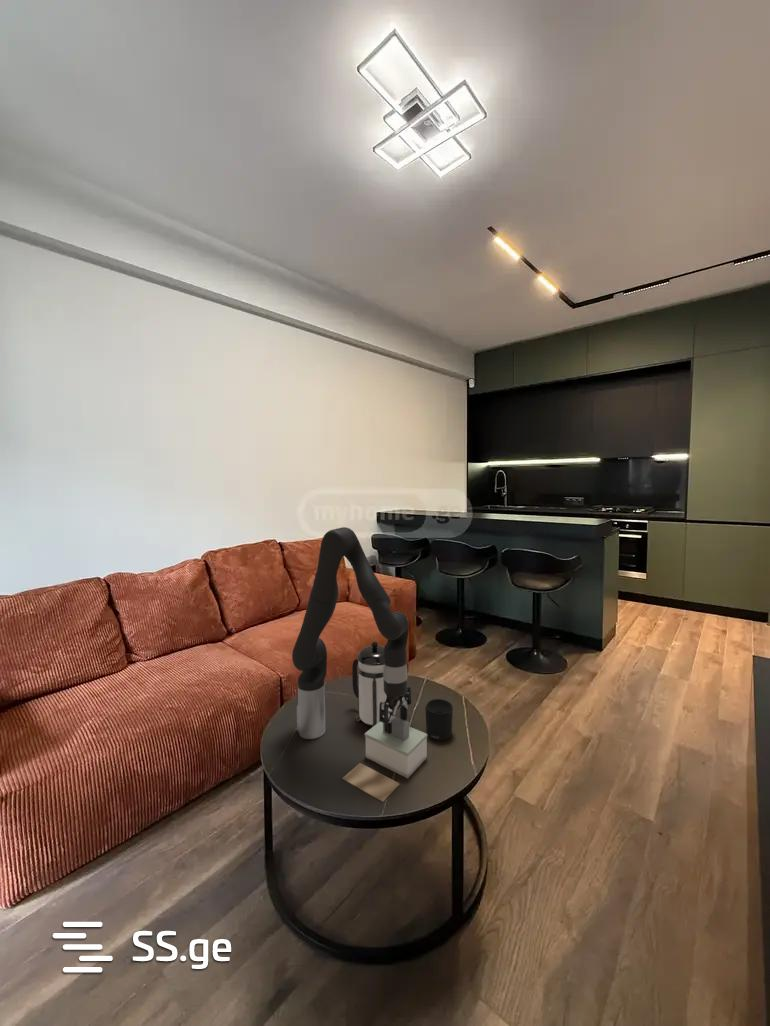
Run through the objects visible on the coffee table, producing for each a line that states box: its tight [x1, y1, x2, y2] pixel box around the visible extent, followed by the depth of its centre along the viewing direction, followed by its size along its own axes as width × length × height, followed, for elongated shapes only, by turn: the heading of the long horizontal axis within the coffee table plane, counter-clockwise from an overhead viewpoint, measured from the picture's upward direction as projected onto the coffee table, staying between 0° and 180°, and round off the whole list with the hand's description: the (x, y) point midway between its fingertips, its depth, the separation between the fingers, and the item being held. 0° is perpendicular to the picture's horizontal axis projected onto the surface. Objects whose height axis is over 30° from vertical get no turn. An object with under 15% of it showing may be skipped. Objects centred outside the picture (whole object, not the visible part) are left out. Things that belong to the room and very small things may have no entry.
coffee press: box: [351, 641, 393, 727], centre depth 150 cm, size 17×16×30 cm
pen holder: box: [424, 698, 454, 742], centre depth 142 cm, size 9×9×10 cm
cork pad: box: [342, 762, 401, 803], centre depth 120 cm, size 15×8×1 cm, turn 53°
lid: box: [364, 714, 428, 757], centre depth 130 cm, size 16×11×7 cm
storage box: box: [365, 737, 428, 779], centre depth 130 cm, size 16×11×7 cm
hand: (396, 726), depth 129 cm, fingers open, 8 cm apart
